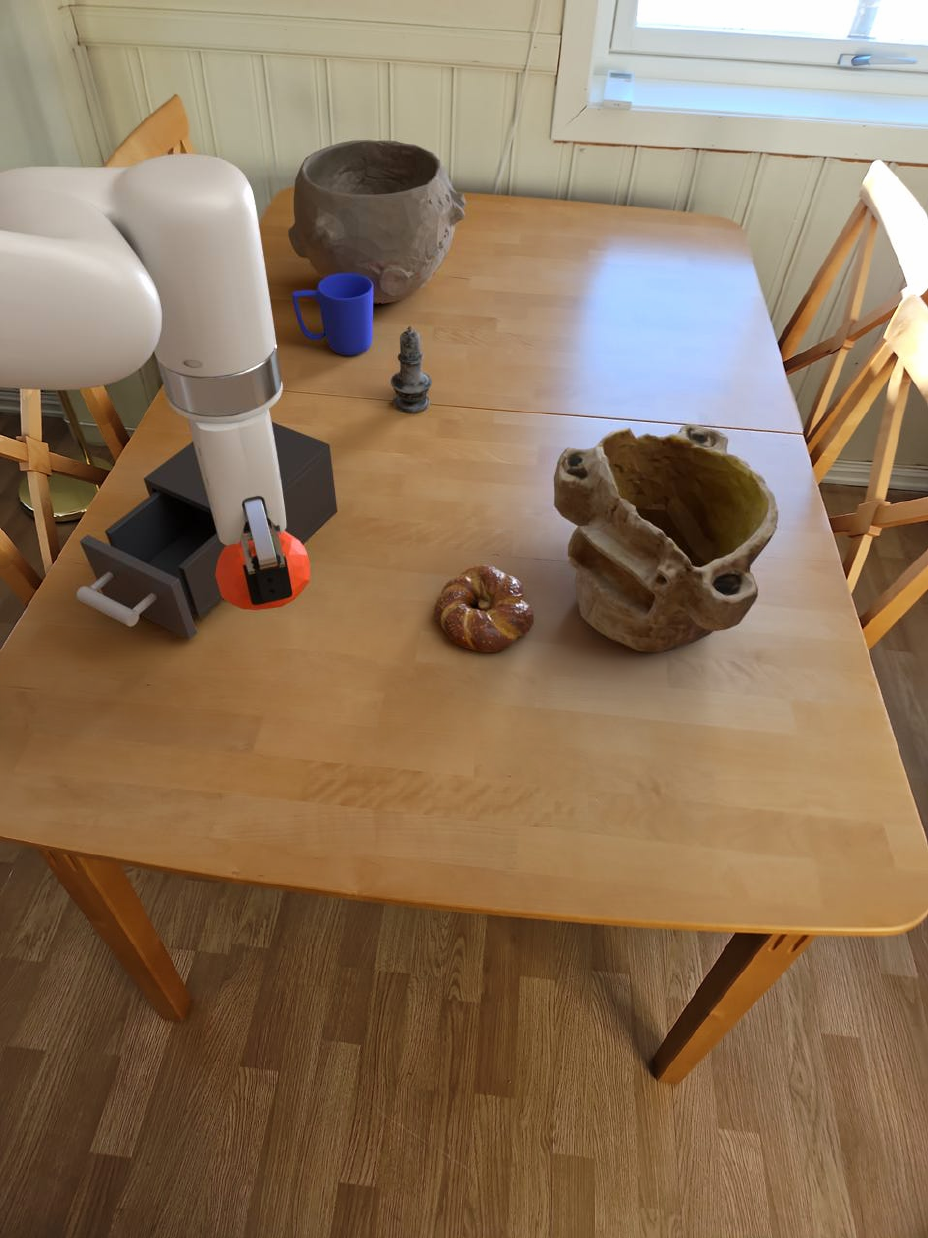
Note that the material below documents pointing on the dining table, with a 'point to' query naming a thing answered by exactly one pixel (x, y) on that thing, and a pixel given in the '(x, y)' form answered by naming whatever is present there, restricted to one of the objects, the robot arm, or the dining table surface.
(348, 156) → the bowl
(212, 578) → the drawer
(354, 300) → the mug
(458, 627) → the pretzel
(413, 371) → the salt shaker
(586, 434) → the dining table surface
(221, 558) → the pumpkin
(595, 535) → the ceramic vessel
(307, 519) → the cabinet
